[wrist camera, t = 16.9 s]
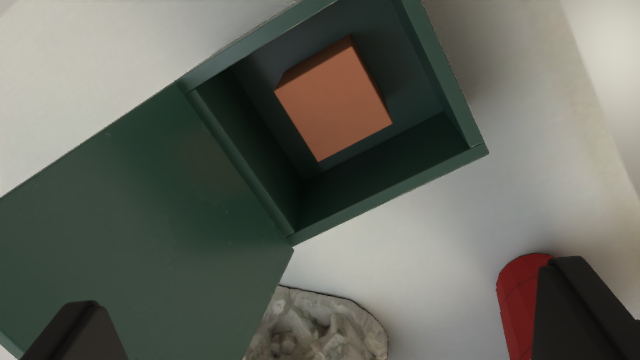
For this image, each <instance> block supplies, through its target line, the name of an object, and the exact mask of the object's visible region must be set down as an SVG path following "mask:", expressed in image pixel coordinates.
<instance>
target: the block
mask: <svg viewBox="0 0 640 360" xmlns="http://www.w3.org/2000/svg"><path fill="white" fill-rule="evenodd" d="M274 93H275V94H276V96H277V97H278V99H279V101H280V102H281V104H282V105H283V107H284V109H285V110H286V112H287V113H288V115H289V117H290V118H291V120H292V121H293V123H294V125H295V126H296V128H297V129H298V131H299V133H300V134H301V136H302V137H303V139H304V141H305V142H306V144H307V145H308V147H309V149H310V150H311V152H312V153H313V155H314V157H315V158H316V160H317V161H318V162H320V161H322V160H324V159H325V158H327V157H329V156H331V155H333V154H335V153H337V152H339V151H341V150H343V149H345V148H347V147H349V146H351V145H352V144H354V143H356V142H358V141H360V140H362V139H364V138H366V137H368V136H370V135H372V134H374V133H376V132H378V131H380V130H381V129H383V128H385V127H387V126H389V125H391V124H392V123H393V122H392V119H391V116H390V113H389V110H388V107H387V104H386V101H385V99H384V97H383V95H382V93H381V91H380V89H379V87H378V85H377V83H376V81H375V80H374V78H373V76H372V74H371V72H370V70H369V68H368V66H367V64H366V62H365V61H364V59H363V57H362V55H361V53H360V51H359V49H358V47H357V45H356V43H355V42H354V40H353V38H352V36H351V34H348V35H346V36H344V37H343V38H341V39H339V40H338V41H336V42H334V43H332V44H331V45H329V46H327V47H326V48H324V49H322V50H320V51H319V52H317V53H315V54H314V55H312V56H310V57H309V58H307V59H305V60H303V61H302V62H300V63H298V64H297V65H295V66H293V67H292V68H290V69H288V70H286V71H285V72H284V73H283V75H282V77H281V79H280V81H279V82H278V84H277V86H276V88H275V90H274Z"/></svg>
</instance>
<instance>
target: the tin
mask: <svg viewBox="0 0 640 360" xmlns="http://www.w3.org/2000/svg"><path fill="white" fill-rule="evenodd" d="M348 34H351V36H352V38H353V40H354V42H355V43H356V45H357V47H358V49H359V51H360V53H361V55H362V57H363V59H364V61H365V62H366V64H367V66H368V68H369V70H370V72H371V74H372V76H373V78H374V80H375V81H376V83H377V85H378V87H379V89H380V91H381V93H382V95H383V97H384V99H385V101H386V104H387V107H388V110H389V113H390V116H391V119H392V122H393V123H392V124H391V125H389V126H387V127H385V128H383V129H381V130H380V131H378V132H376V133H374V134H372V135H370V136H368V137H366V138H364V139H362V140H360V141H358V142H356V143H354V144H352V145H351V146H349V147H347V148H345V149H343V150H341V151H339V152H337V153H335V154H333V155H331V156H329V157H327V158H325V159H324V160H322V161H320V162H318V161H317V160H316V158H315V157H314V155H313V153H312V152H311V150H310V149H309V147H308V145H307V144H306V142H305V141H304V139H303V137H302V136H301V134H300V133H299V131H298V129H297V128H296V126H295V125H294V123H293V121H292V120H291V118H290V117H289V115H288V113H287V112H286V110H285V109H284V107H283V105H282V104H281V102H280V101H279V99H278V97H277V96H276V94H275V93H274V90H275V88H276V86H277V84H278V82H279V81H280V79H281V77H282V75H283V73H284V72H285V71H286V70H288V69H290V68H292V67H293V66H295V65H297V64H298V63H300V62H302V61H303V60H305V59H307V58H309V57H310V56H312V55H314V54H315V53H317V52H319V51H320V50H322V49H324V48H326V47H327V46H329V45H331V44H332V43H334V42H336V41H338V40H339V39H341V38H343V37H344V36H346V35H348ZM174 82H175V83H176V85H177V86H178V87H179V89H180V90H181V92H182V93H183V94H184V96H185V97H186V99H187V100H188V101H189V103H190V104H191V106H192V107H193V109H194V110H195V111H196V113H197V114H198V116H199V117H200V118H201V120H202V121H203V123H204V124H205V125H206V127H207V128H208V130H209V131H210V132H211V134H212V135H213V137H214V138H215V139H216V141H217V142H218V144H219V145H220V147H221V148H222V149H223V151H224V152H225V154H226V155H227V156H228V158H229V159H230V161H231V162H232V163H233V165H234V166H235V168H236V169H237V170H238V172H239V173H240V175H241V176H242V178H243V179H244V180H245V182H246V183H247V185H248V186H249V187H250V189H251V190H252V192H253V193H254V194H255V196H256V197H257V199H258V200H259V201H260V203H261V204H262V206H263V207H264V208H265V210H266V211H267V213H268V214H269V216H270V217H271V218H272V220H273V221H274V223H275V224H276V225H277V227H278V228H279V230H280V231H281V232H282V234H283V235H284V237H285V238H286V239H287V241H288V242H289V244H290V245H291V247H293V246H295V245H297V244H299V243H301V242H303V241H306V240H308V239H310V238H312V237H314V236H316V235H318V234H320V233H323V232H325V231H327V230H329V229H331V228H333V227H335V226H337V225H339V224H342V223H344V222H346V221H348V220H350V219H352V218H354V217H356V216H359V215H361V214H363V213H365V212H367V211H369V210H371V209H373V208H376V207H378V206H380V205H382V204H384V203H386V202H388V201H390V200H392V199H395V198H397V197H399V196H401V195H403V194H405V193H407V192H409V191H412V190H414V189H416V188H418V187H420V186H422V185H424V184H426V183H429V182H431V181H433V180H435V179H437V178H439V177H441V176H443V175H445V174H448V173H450V172H452V171H454V170H456V169H458V168H460V167H462V166H465V165H467V164H469V163H471V162H473V161H475V160H477V159H479V158H482V157H484V156H486V155H488V154H489V151H488V149H487V147H486V144H485V142H484V140H483V138H482V135H481V133H480V131H479V129H478V127H477V124H476V122H475V120H474V118H473V116H472V113H471V111H470V109H469V107H468V105H467V102H466V100H465V98H464V96H463V94H462V91H461V89H460V87H459V85H458V82H457V80H456V78H455V76H454V74H453V71H452V69H451V67H450V65H449V63H448V60H447V58H446V56H445V54H444V52H443V49H442V47H441V45H440V43H439V41H438V38H437V36H436V34H435V32H434V29H433V27H432V25H431V23H430V21H429V18H428V16H427V14H426V12H425V10H424V7H423V5H422V3H421V1H420V0H299V1H297V2H296V3H294V4H292V5H291V6H289V7H288V8H286V9H285V10H283V11H281V12H280V13H278V14H277V15H275V16H273V17H272V18H270V19H269V20H267V21H265V22H264V23H262V24H261V25H259V26H258V27H256V28H254V29H253V30H251V31H250V32H248V33H246V34H245V35H243V36H242V37H240V38H238V39H237V40H235V41H234V42H232V43H231V44H229V45H227V46H226V47H224V48H223V49H221V50H219V51H218V52H216V53H215V54H213V55H212V56H210V57H209V58H207V59H206V60H204V61H203V62H201V63H200V64H199V65H197V66H196V67H194V68H193V69H191V70H190V71H188V72H187V73H186V74H184V75H183V76H181V77H180V78H178V79H177V80H175V81H174Z"/></svg>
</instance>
